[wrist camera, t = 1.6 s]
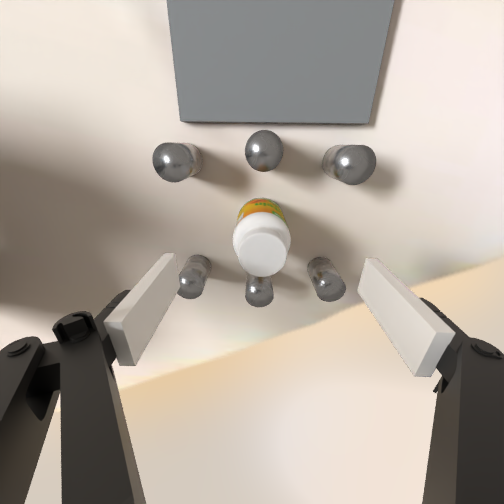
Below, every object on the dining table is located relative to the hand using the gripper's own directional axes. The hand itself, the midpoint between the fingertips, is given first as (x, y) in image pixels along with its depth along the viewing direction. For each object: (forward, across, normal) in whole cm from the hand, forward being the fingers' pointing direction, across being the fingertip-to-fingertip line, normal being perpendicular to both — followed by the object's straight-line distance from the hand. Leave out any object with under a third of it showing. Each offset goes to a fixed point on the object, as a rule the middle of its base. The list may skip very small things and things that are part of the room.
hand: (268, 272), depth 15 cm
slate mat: (+12, 0, +16) cm, 20 cm away
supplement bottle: (+12, -1, 0) cm, 12 cm away
